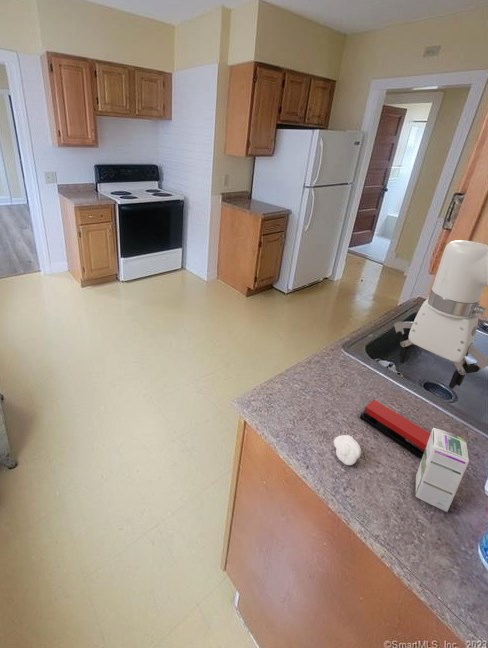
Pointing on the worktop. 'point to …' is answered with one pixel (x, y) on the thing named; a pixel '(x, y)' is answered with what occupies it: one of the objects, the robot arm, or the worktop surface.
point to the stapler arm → (398, 424)
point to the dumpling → (347, 449)
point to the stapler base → (393, 435)
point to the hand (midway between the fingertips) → (427, 372)
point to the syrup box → (441, 468)
